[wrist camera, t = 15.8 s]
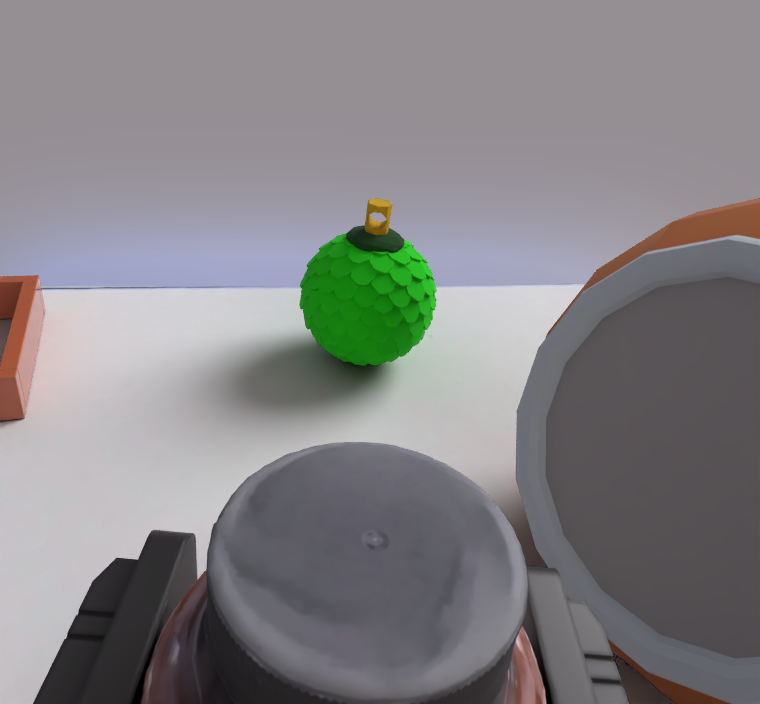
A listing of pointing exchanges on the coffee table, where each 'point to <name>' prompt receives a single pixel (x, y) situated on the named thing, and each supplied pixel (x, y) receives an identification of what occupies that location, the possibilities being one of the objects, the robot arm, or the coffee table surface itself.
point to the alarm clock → (658, 454)
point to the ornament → (368, 293)
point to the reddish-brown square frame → (19, 341)
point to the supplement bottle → (353, 591)
